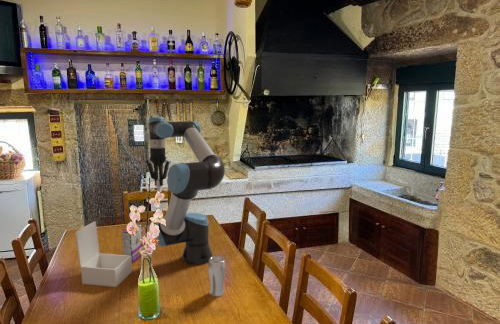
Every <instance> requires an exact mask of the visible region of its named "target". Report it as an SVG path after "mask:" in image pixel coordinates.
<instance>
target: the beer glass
mask: <svg viewBox="0 0 500 324" xmlns="http://www.w3.org/2000/svg"><path fill="white" fill-rule="evenodd" d="M225 260H226V259H225V258H224V257H223V256H220V255H219V256H218V255H214V256H212V257H211V258H210V259H209V262H208V268H207V269H208V270H207V271H208V278H209V283H210V290H209V295H210V296H212V297H214V298H217V297H222V296H224V294H225V288H224V281H225V277H226V276H225V274H226V261H225Z"/></svg>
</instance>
